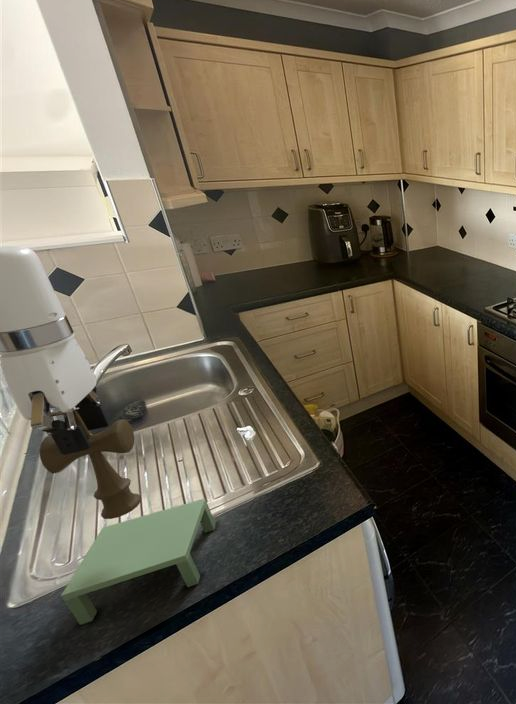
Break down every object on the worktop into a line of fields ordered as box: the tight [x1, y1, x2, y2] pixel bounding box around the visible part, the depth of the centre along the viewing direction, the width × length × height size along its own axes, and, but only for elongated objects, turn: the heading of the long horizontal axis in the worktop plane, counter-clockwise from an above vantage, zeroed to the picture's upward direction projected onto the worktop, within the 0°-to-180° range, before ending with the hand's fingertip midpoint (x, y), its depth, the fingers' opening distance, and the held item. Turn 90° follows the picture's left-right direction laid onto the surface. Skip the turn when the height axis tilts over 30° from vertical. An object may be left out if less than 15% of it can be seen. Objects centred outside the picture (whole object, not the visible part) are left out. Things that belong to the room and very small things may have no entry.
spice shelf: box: [60, 498, 217, 626], centre depth 73 cm, size 16×14×7 cm
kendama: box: [38, 410, 142, 520], centre depth 66 cm, size 6×10×20 cm, turn 118°
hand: (86, 438), depth 64 cm, fingers closed on kendama, 5 cm apart
